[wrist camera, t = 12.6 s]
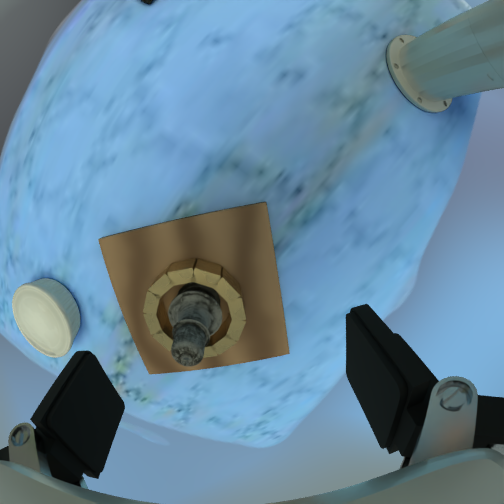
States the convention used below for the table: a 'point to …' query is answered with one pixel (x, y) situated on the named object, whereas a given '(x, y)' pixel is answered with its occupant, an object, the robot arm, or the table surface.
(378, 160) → the table surface
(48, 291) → the ramekin
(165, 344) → the wooden ring
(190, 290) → the stone chess piece
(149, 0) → the brown long rounded piece
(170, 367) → the wooden board
